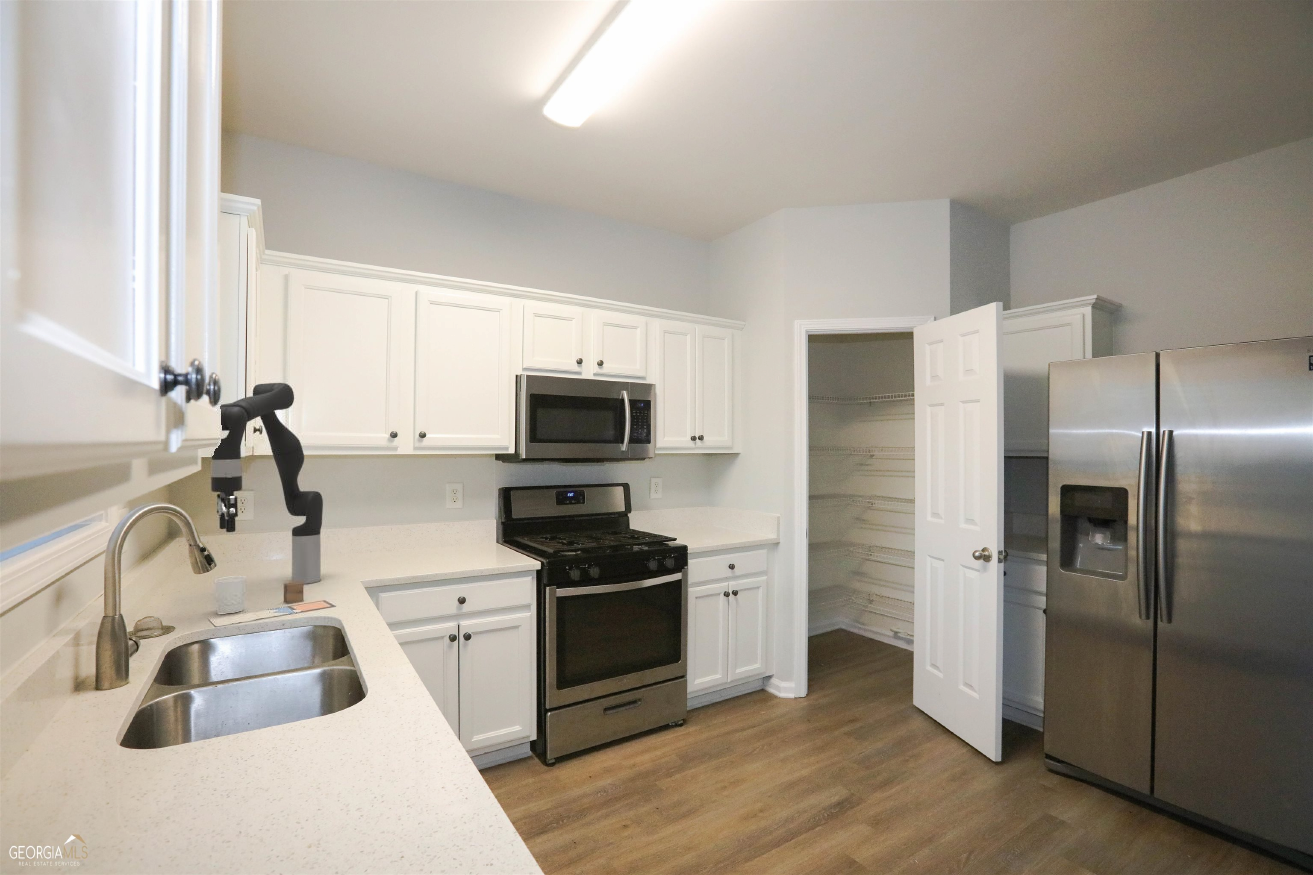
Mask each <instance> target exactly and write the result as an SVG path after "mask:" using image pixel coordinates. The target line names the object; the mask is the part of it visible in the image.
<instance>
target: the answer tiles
mask: <svg viewBox="0 0 1313 875" xmlns="http://www.w3.org/2000/svg"><path fill="white" fill-rule="evenodd" d="M336 606H337V605H335V604H333V603H330V602H329V601H327V600H326V599H322V600H317V601H313V602H312V601H310V602H305V603H304V602H303V603H300V604H299V603H298V604H293V605H292V604H291V605H287V606H281V608H280V607H274V608H275V609H274V608H269V609H270V610H278V611H275V612H273V613H295V612H294V611H293V610H301V611H303V612H302V613H306V611H307V612H311V611H319V610H323V609H330V608H334V607H336ZM282 607H283V608H282ZM295 607H296V608H295ZM269 609H267V610H269ZM281 610H282V611H281ZM269 613H270V612H269ZM295 614H298V613H297V612H296V613H295Z"/></svg>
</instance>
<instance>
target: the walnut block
mask: <svg viewBox="0 0 1313 875" xmlns="http://www.w3.org/2000/svg"><path fill="white" fill-rule="evenodd" d="M304 594H305V593H304V584H303V583H302V582H300V581H295V582H292V581H290V582H284V583H283V603H285V604H286V605H292V604H293V605H294V604H297V603H298V604H299V603H304V601H305V600H304Z"/></svg>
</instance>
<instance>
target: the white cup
mask: <svg viewBox="0 0 1313 875" xmlns="http://www.w3.org/2000/svg"><path fill="white" fill-rule="evenodd" d="M246 583H247V576H245V575H231V576H225V577H224V576H223V577H220V578H219V577H218V578H216V579H214V595H215V605H216V614H217V613H233V612H238V611H241V610H243V611H245V601H246V585H247V584H246ZM241 612H242V611H241ZM238 613H239V612H238Z"/></svg>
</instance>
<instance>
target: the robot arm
mask: <svg viewBox="0 0 1313 875" xmlns="http://www.w3.org/2000/svg"><path fill="white" fill-rule="evenodd" d="M294 393H295V392H294V390H293V388H292V386H291V385H289V383H285V382H269V383H258V384H255V385H254V386H253V389H252V395H251V396H247V397H243V398H240V399H238V400H235V401H233V402H229V403H223V404H220V405H221V406H220V409H221V425H222V431H221V432H227V431H228V433H227V434H226V436H225V437H223V438H220V439H221V443H220V445H219V446H218V448H216V449H215V451H214V455H213V456H212V455H211V465H210V486H211V487H210V490H211V492H212V493H217V494H216V514H217V515H218V518H219V524H218V525H219V529H220V530H225V532H226V533H234V532H236V519H237V518H238V516H239V510H238V508H239V507H238V496H237V495H235V492H240V491H242V490H243V464H242V452H241V447H242V442H243V438H244V435H245V431H246V427H247V425H248V423H249V422H251V421H253V420H255V419H256V418H257V419H258V418H260V420H261V422H262V424H263V425H262V426H263V427H264V430H265V433H266V435H267V439H268V442H269V447H270V450H271V453H272V456H273V460H274V462H275V465H276V469H277V472H278V474H279V477H280V478H279V479H280V481H281V487H282V492H283V499H284V503H285V508H286V510H287V512H288V513H289V514H290V516H292V517H305V521H304V522H303V523H302V524H299V525H297V526H294V527H292V529H291V582H295V581H300V582H302V583H303V585H305V584H313V583H317V582H321V579H322V578H321V570H322V569H321V566H322V565H321V549H322V548H321V546H322V544H321V531H322V530H321V529H322V525H323V514H324V513H323V509H324V499H323V495H322V494H321V492H319V491H316V490H301V489H300V487H299V484H298V483H299V482H298V480H299V479H298V477H299V476H300V473H301V470H302V468H303V465H304V462H305V453H304V450H303V446H302V442H301V441H300V439H299V438H298V436H297V435H296V434H294V432H292V431H291V430H290V429H289V428H288V427H286V425H284V424H283V422H281V421H280V419H279V418H278V415H277V412H276V411H283V410H287V409H289V408H291V407H292V406H293V404H294V402H295V394H294Z"/></svg>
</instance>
